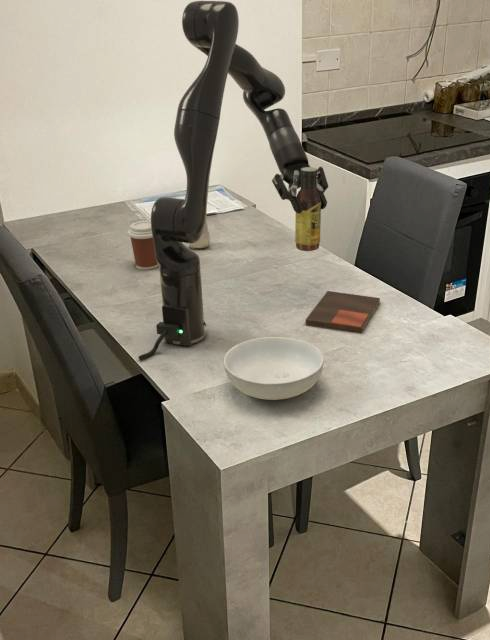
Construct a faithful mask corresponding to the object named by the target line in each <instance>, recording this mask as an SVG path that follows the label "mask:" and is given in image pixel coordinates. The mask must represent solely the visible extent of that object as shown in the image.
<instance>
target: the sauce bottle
mask: <svg viewBox="0 0 490 640" xmlns="http://www.w3.org/2000/svg"><path fill="white" fill-rule="evenodd" d="M317 169H318V168H316V167H313V166H310V167H305V168H302V169H301V188H299V191H297V193H296V196H298V198H299V201H300V203H301V205H302V208H303V211H302V212H301V213H300V214H297V212H295V230H294V231H295V233H294V234H295V235H294V236H295V238H294V241H295V248H296V249H297V250H299V251H301V252H313V251H316V250H319V249H320V242H321V224H322V223H321V221H322V209H321V199H320V196H319V193H318V190H317V185H316V180H317V179H316V177H317Z"/></svg>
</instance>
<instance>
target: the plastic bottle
mask: <svg viewBox="0 0 490 640" xmlns="http://www.w3.org/2000/svg"><path fill="white" fill-rule="evenodd" d="M185 197H186V195H185V196H184V198H185ZM207 211H208V210H206V219H205V225H204V230H203V233H202V235H201V237H200V239H199V240H198V241H197V242H195V243H188V245H189V246H190V247H191V248H192V249H203V248H206V247H208V246H210V243H211V235H210V231H209V226H208V221H207V219H208V218H207V213H208V212H207Z"/></svg>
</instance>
